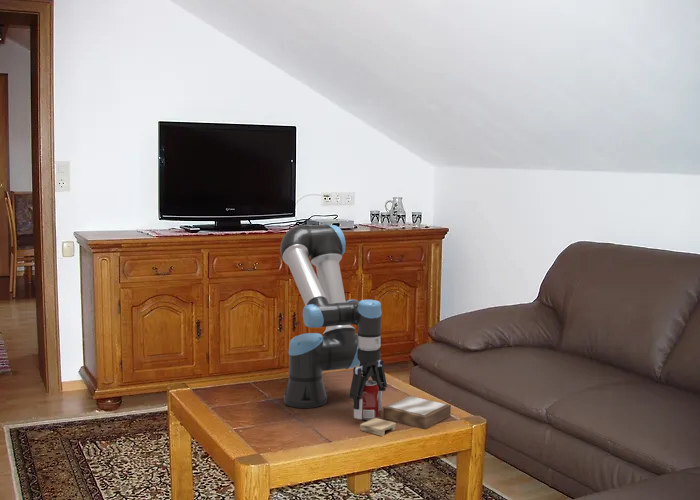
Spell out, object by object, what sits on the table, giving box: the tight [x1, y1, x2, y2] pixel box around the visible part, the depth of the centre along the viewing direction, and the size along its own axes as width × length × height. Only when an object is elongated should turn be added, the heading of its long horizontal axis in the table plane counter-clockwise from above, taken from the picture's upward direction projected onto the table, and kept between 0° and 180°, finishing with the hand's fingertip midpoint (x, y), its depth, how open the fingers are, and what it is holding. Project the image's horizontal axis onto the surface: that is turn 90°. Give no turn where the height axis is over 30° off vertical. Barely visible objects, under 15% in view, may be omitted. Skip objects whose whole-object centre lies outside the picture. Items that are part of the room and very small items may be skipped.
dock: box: [382, 395, 452, 430], centre depth 253 cm, size 16×16×4 cm
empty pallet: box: [359, 417, 397, 437], centre depth 241 cm, size 8×8×2 cm
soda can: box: [361, 379, 379, 422], centre depth 251 cm, size 7×7×12 cm
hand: (368, 414), depth 252 cm, fingers open, 10 cm apart
